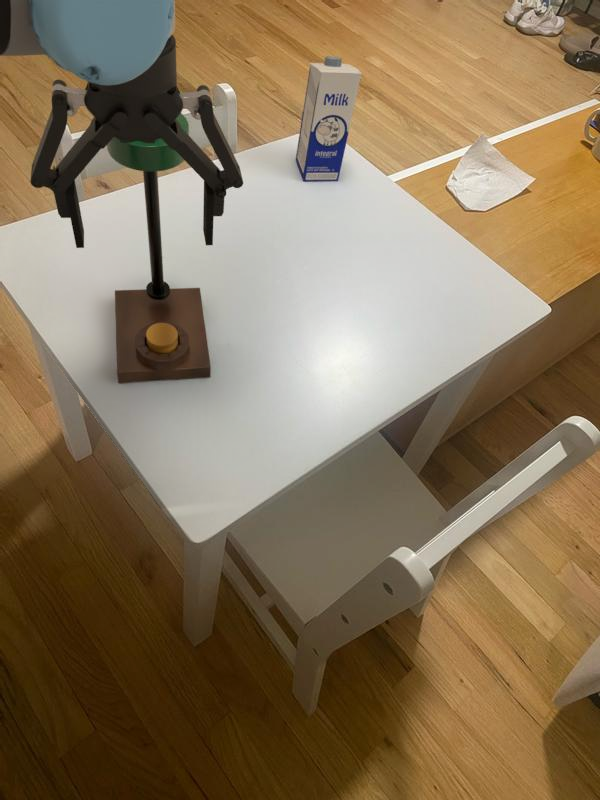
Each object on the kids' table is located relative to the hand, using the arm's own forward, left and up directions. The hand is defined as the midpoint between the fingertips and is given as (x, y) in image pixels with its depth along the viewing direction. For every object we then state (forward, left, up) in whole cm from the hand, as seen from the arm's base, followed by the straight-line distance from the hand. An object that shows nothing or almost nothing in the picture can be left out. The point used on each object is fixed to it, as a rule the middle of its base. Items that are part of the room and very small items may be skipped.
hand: (145, 238), depth 66 cm
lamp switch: (+1, -1, -17) cm, 17 cm away
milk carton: (+32, +43, -20) cm, 58 cm away
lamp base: (+1, +3, -20) cm, 21 cm away
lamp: (+1, +10, -16) cm, 19 cm away
